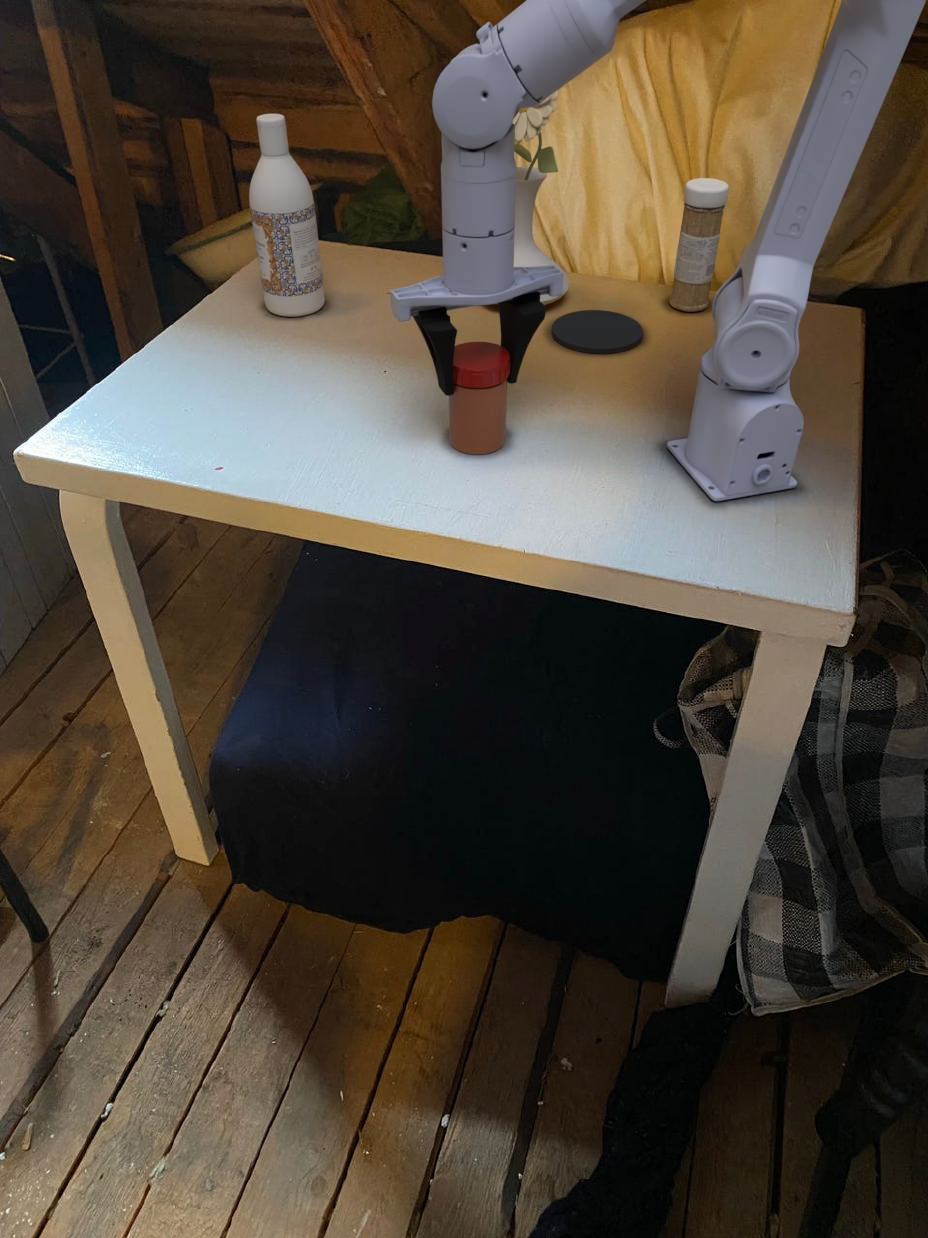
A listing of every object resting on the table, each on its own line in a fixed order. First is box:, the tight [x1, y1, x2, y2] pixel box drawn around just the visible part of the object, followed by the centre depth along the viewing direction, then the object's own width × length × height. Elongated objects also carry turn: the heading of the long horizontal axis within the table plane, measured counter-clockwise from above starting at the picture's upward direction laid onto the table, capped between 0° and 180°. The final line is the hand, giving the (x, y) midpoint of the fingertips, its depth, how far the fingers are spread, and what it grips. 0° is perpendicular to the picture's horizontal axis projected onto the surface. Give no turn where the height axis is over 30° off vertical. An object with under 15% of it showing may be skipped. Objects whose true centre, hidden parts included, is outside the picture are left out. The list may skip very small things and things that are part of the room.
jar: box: [448, 379, 508, 456], centre depth 82 cm, size 5×5×8 cm
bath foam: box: [248, 113, 326, 318], centre depth 101 cm, size 7×7×20 cm
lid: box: [453, 341, 510, 388], centre depth 80 cm, size 6×6×2 cm
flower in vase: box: [495, 90, 570, 306], centre depth 100 cm, size 13×11×25 cm
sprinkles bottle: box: [668, 177, 730, 313], centre depth 103 cm, size 5×5×13 cm
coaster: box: [551, 309, 644, 355], centre depth 101 cm, size 10×10×1 cm
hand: (478, 384), depth 81 cm, fingers closed on lid, 5 cm apart
